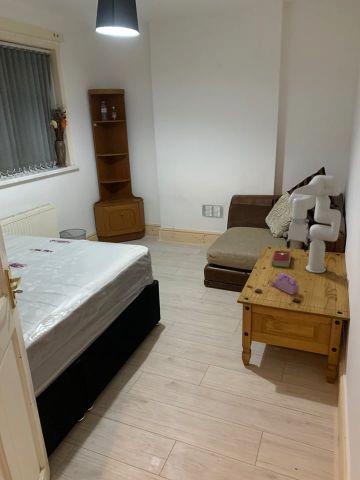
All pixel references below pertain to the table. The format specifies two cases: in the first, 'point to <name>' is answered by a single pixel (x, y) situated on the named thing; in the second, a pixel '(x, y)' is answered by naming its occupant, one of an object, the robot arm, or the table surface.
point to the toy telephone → (286, 283)
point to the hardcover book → (281, 259)
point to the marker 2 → (296, 300)
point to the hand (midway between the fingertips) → (296, 249)
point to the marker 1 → (258, 290)
